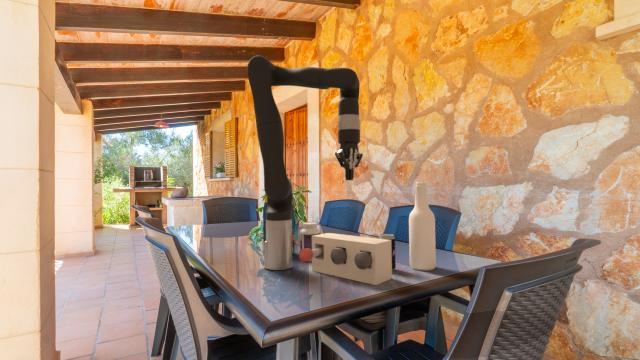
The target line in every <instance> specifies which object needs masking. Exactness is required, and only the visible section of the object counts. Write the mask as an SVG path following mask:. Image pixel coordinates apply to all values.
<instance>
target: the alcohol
mask: <svg viewBox="0 0 640 360" xmlns="http://www.w3.org/2000/svg"><path fill="white" fill-rule="evenodd" d="M414 184H415V192H414V193H415V195H414V207H413V209H412V210H411V211H410V212H409V215H408V216H409V217H408V244H409V245H408V247H409V248H408V250H409V256H408V258H409V259H408V260H409V266H410V267H411V269H412V270H416V271H422V272H424V271H432V270H434V269H435V268H436V266H437V265H436V264H437V262H436V261H437V259H436V255H437V254H436V217H435V214H434V212H433V211H432V210H431V209H430V205H429V198H428V197H429V196H428V185H427V184H428V182H425V181H423V182H422V181H416V182H415V183H414Z"/></svg>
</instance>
